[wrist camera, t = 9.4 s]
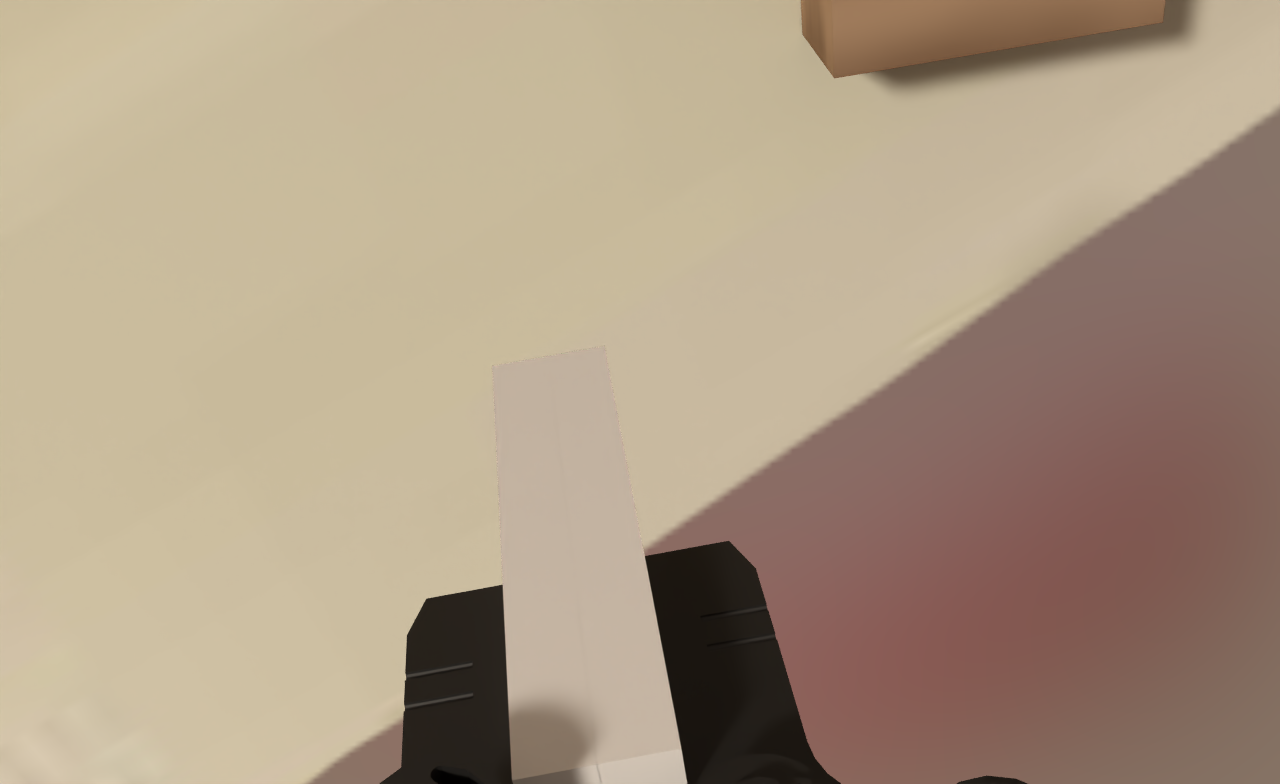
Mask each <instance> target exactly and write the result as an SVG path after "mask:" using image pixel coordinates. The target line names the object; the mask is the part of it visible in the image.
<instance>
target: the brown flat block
mask: <svg viewBox="0 0 1280 784" xmlns="http://www.w3.org/2000/svg"><path fill="white" fill-rule="evenodd" d="M1165 1H1166V0H801V12H802V33H803V36H804V37H805V38H806V40H807V41H808V43H809V44H810V45H811V47H812V48H813V49H814V51H815V52H816V54H817V55H818V56H819V58H820V59H821V60H822V62H823V63H824V65H825V66H826V67H827V69H828V70H829V72H830V73H831V74H832V76H833V77H834V78H839V77H845V76H851V75H857V74H863V73H869V72H874V71H880V70H886V69H892V68H898V67H904V66H910V65H916V64H921V63H927V62H933V61H939V60H945V59H951V58H957V57H963V56H968V55H974V54H980V53H986V52H992V51H998V50H1004V49H1010V48H1015V47H1021V46H1027V45H1033V44H1039V43H1045V42H1051V41H1056V40H1062V39H1068V38H1074V37H1080V36H1086V35H1092V34H1098V33H1103V32H1109V31H1115V30H1121V29H1127V28H1133V27H1139V26H1145V25H1150V24H1156V23H1162V22H1163V17H1164V9H1165Z"/></svg>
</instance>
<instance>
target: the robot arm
mask: <svg viewBox="0 0 1280 784" xmlns="http://www.w3.org/2000/svg"><path fill="white" fill-rule="evenodd" d="M492 370H493V391H494V412H495V433H496V454H497V475H498V496H499V517H500V538H501V559H502V580H503V585H499V586H494V587H488V588H483V589H477V590H472V591H466V592H461V593H455V594H450V595H444V596H439V597H433V598H428V599H426V601H425V602H424V604H423V606H422V608H421V610H420V612H419V614H418V616H417V618H416V619H415V621H414V623H413V625H412V627H411V629H410V631H409V633H408V634H407V648H406V672H405V673H406V680H405V695H404V705H405V711H404V718H403V742H402V765H401V766H402V767H401V768H400V769H399V770H397V771H396V772H395V773H393V774H392V775H391V776H389V777H388V778H386V779H385V780H384V781H382V782H381V783H380V784H841V783H840V782H838V781H837V780H835V779H834V778H833V777H831V776H830V775H829V774H827V772H826V771H825V770H824V769H823V768H822V766H821V765H820V764H819V763H818V762H817V760H816V759H815V757H814V756H813V753H812V751H811V749H810V747H809V744H808V742H807V739H806V736H805V733H804V729H803V726H802V722H801V719H800V716H799V712H798V709H797V706H796V702H795V699H794V695H793V692H792V689H791V685H790V682H789V678H788V675H787V672H786V668H785V665H784V662H783V658H782V655H781V652H780V648H779V645H778V641H777V640H776V637H775V631H774V628H773V625H772V621H771V618H770V615H769V611H768V610H767V606H766V601H765V598H764V594H763V591H762V588H761V585H760V581H759V578H758V574H757V572H756V568H755V567H754V566H753V565H752V564H751V563H750V562H749V561H748V560H747V559H746V558H745V557H744V556H743V555H742V554H741V553H740V552H739V551H738V550H737V549H736V548H735V547H734V546H733V545H732V544H731V542H729V541H726V542H720V543H715V544H709V545H703V546H698V547H693V548H687V549H682V550H676V551H671V552H665V553H660V554H654V555H649V556H645V555H644V550H643V545H642V539H641V534H640V529H639V524H638V518H637V513H636V508H635V503H634V497H633V492H632V487H631V482H630V476H629V471H628V466H627V460H626V455H625V450H624V445H623V439H622V434H621V429H620V424H619V418H618V413H617V408H616V403H615V397H614V392H613V387H612V382H611V376H610V371H609V366H608V361H607V355H606V350H605V346H601V347H595V348H589V349H584V350H578V351H572V352H567V353H561V354H555V355H550V356H544V357H538V358H533V359H527V360H521V361H516V362H510V363H505V364H499V365H493V366H492ZM957 784H1027V783H1025V782H1022V781H1020V780H1017V779H1012V778H1003V777H994V776H983V777H979V778H974V779H970V780H966V781H961V782H959V783H957Z"/></svg>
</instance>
